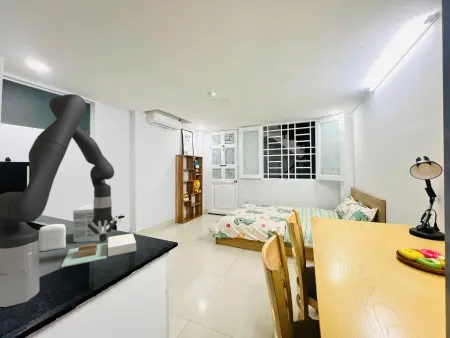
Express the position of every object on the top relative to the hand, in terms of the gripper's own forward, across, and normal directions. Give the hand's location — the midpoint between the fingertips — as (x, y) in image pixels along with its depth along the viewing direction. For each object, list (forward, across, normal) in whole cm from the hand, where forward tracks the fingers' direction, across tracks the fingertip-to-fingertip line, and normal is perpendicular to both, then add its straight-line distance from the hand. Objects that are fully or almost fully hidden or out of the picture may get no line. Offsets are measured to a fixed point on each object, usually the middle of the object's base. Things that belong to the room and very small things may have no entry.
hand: (102, 241), depth 97 cm
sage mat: (+5, -6, 0) cm, 8 cm away
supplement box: (+5, -6, +27) cm, 28 cm away
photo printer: (+5, -22, +16) cm, 28 cm away
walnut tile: (+3, -6, 0) cm, 7 cm away
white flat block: (+5, +8, 0) cm, 9 cm away
